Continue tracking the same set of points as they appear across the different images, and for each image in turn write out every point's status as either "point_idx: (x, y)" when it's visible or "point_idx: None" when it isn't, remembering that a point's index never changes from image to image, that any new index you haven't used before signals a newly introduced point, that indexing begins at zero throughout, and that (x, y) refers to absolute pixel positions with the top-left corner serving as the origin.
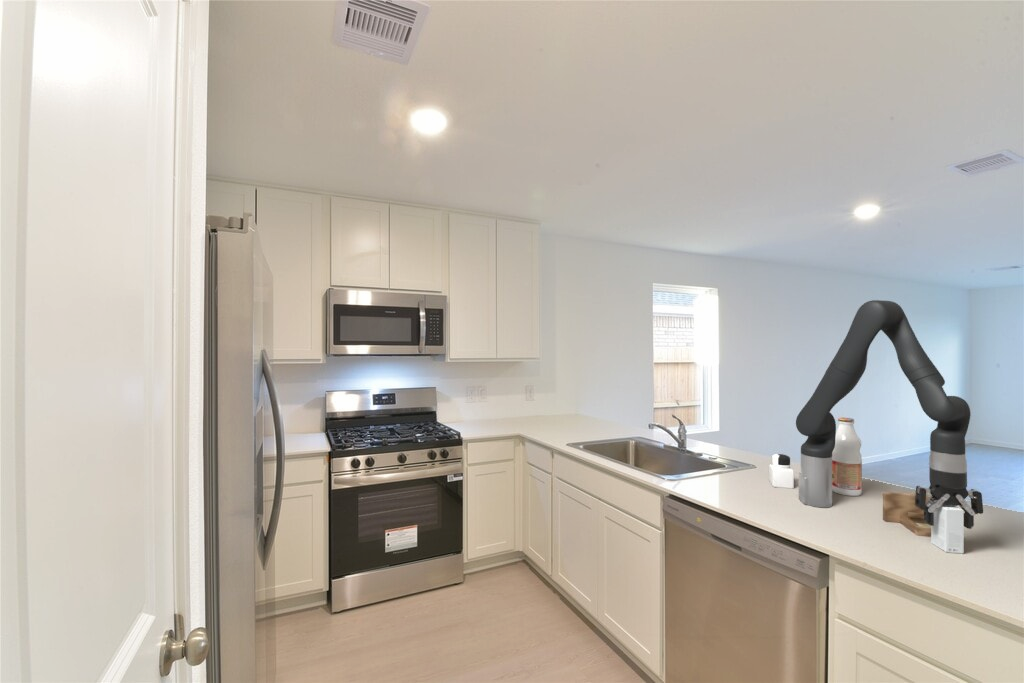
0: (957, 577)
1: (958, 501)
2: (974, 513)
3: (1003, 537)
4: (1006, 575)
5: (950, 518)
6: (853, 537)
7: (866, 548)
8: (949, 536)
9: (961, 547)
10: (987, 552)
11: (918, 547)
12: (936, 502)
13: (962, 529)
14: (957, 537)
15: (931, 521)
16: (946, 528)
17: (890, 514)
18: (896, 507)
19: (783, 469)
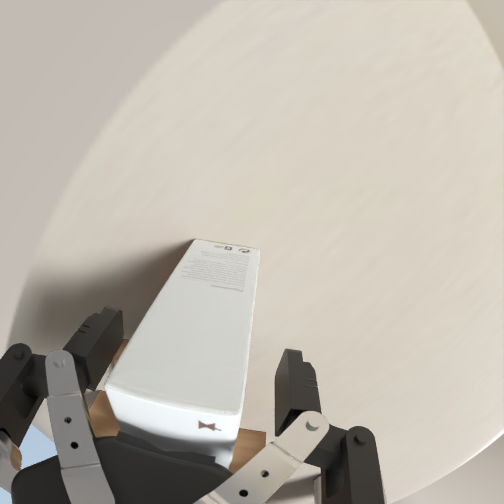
0: (399, 54)
1: (100, 458)
2: (50, 357)
3: (27, 331)
4: (184, 63)
5: (220, 352)
6: (461, 340)
7: (494, 273)
8: (240, 282)
9: (197, 249)
10: (101, 253)
11: (333, 289)
12: (288, 477)
13: (164, 295)
14: (202, 274)
15: (300, 365)
16: (253, 309)
17: (251, 449)
18: (232, 467)
19: None
